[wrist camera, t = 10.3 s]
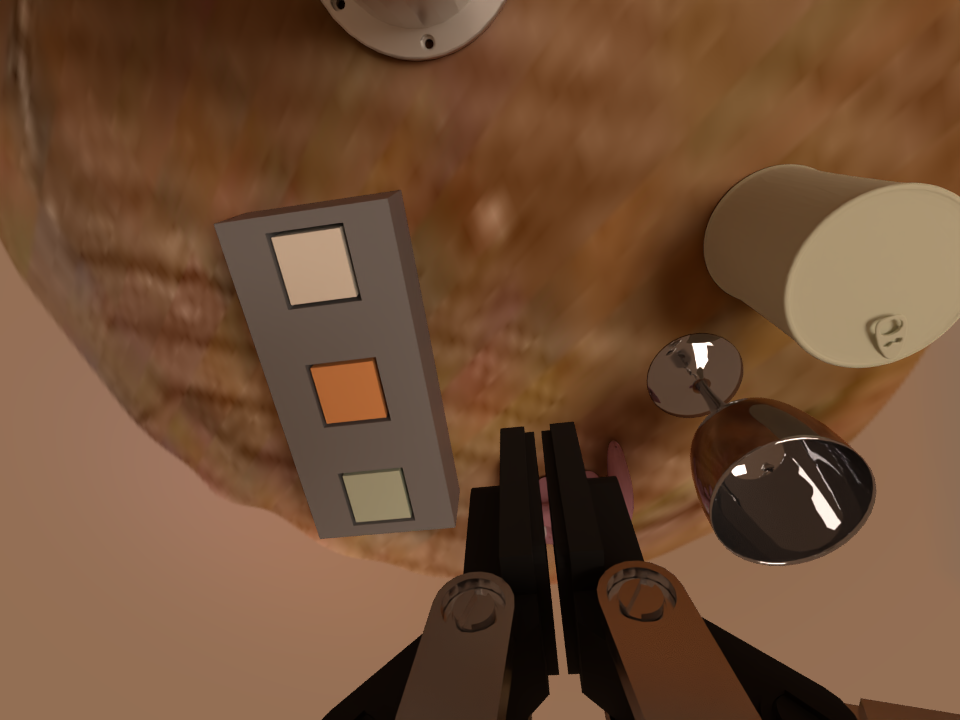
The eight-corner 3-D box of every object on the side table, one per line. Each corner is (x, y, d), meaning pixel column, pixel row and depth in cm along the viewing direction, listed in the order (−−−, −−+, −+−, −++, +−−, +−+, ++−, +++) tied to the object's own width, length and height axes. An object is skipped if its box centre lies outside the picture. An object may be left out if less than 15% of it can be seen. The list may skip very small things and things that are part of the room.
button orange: (323, 351, 39) (310, 368, 37) (381, 344, 39) (372, 361, 36) (338, 403, 41) (326, 423, 38) (394, 397, 41) (386, 417, 38)
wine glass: (619, 376, 41) (678, 504, 27) (706, 306, 38) (819, 408, 24) (684, 440, 43) (769, 589, 29) (770, 377, 40) (908, 507, 27)
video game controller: (509, 478, 47) (517, 558, 42) (500, 453, 43) (507, 537, 39) (622, 461, 46) (643, 541, 41) (622, 434, 42) (644, 518, 38)
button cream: (288, 228, 36) (271, 237, 33) (352, 219, 35) (339, 227, 33) (306, 291, 37) (291, 305, 35) (367, 283, 37) (356, 296, 34)
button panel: (246, 213, 37) (213, 224, 33) (400, 189, 36) (387, 198, 32) (336, 502, 47) (320, 538, 43) (459, 490, 46) (455, 527, 42)
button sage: (352, 453, 43) (342, 476, 40) (406, 448, 42) (399, 470, 40) (365, 497, 45) (356, 522, 42) (416, 493, 44) (410, 517, 41)
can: (720, 320, 39) (806, 398, 28) (687, 199, 35) (769, 233, 24) (854, 272, 37) (1003, 334, 26) (833, 139, 34) (992, 147, 23)
